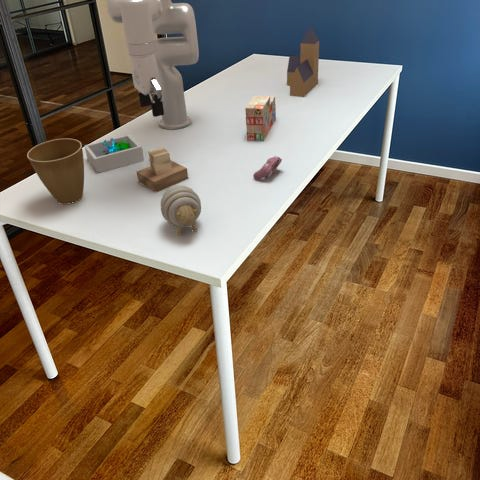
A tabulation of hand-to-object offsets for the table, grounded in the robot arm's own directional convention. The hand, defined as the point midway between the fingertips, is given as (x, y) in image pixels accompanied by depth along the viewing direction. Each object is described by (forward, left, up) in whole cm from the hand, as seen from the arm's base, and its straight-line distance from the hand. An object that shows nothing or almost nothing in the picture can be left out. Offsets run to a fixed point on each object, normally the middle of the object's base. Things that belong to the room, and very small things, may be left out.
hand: (152, 110), depth 138 cm
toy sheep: (+27, -5, -23) cm, 36 cm away
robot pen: (-24, -8, -22) cm, 34 cm away
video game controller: (+16, +28, -23) cm, 40 cm away
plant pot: (-6, -28, -23) cm, 37 cm away
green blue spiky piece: (-27, -7, -23) cm, 36 cm away
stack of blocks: (-16, +46, -23) cm, 54 cm away
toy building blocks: (-46, +83, -23) cm, 97 cm away
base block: (0, 0, -23) cm, 23 cm away
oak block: (0, 0, -19) cm, 19 cm away
